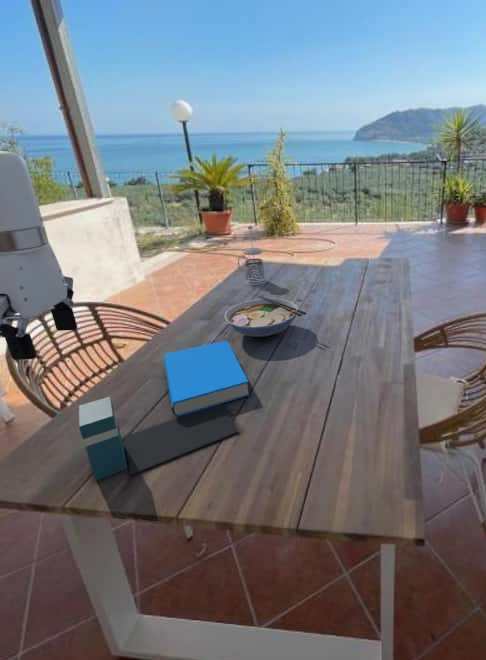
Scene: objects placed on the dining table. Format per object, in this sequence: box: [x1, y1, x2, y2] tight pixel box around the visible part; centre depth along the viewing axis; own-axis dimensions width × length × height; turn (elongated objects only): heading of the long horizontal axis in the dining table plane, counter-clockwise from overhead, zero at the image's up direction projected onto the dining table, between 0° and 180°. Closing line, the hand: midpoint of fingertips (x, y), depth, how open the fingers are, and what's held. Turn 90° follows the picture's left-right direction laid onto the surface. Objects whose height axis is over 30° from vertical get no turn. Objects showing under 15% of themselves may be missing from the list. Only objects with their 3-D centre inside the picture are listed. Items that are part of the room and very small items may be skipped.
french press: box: [237, 225, 268, 286], centre depth 169 cm, size 10×12×25 cm
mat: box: [123, 403, 239, 477], centre depth 81 cm, size 20×12×1 cm, turn 125°
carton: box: [78, 396, 128, 481], centre depth 72 cm, size 5×7×12 cm
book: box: [163, 340, 251, 418], centre depth 99 cm, size 17×4×25 cm
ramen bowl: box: [224, 294, 307, 338], centre depth 125 cm, size 25×23×8 cm
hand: (47, 343), depth 63 cm, fingers open, 9 cm apart
